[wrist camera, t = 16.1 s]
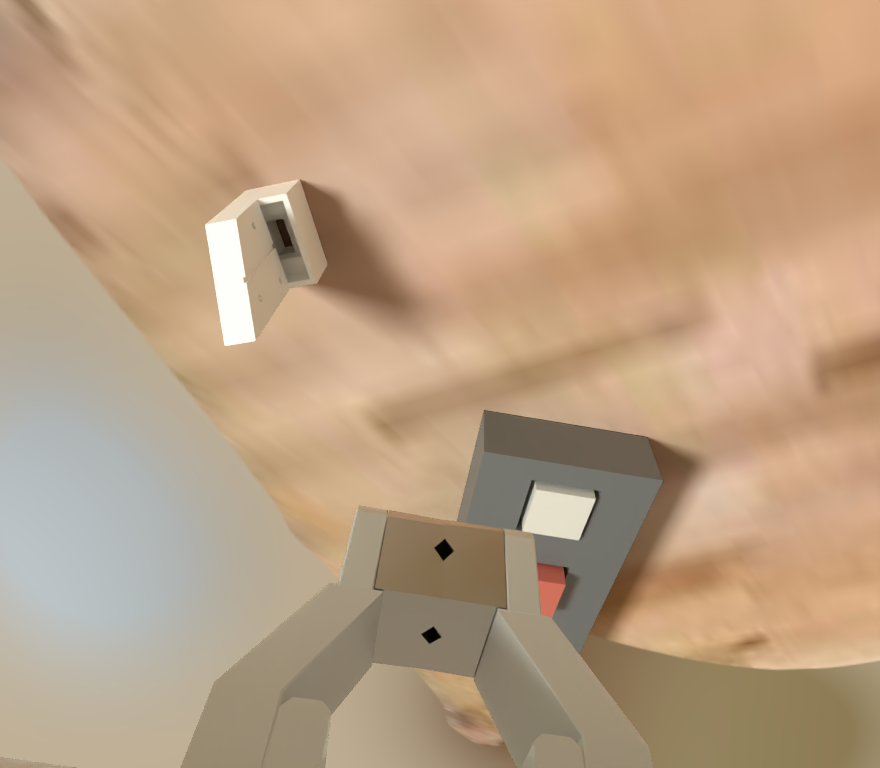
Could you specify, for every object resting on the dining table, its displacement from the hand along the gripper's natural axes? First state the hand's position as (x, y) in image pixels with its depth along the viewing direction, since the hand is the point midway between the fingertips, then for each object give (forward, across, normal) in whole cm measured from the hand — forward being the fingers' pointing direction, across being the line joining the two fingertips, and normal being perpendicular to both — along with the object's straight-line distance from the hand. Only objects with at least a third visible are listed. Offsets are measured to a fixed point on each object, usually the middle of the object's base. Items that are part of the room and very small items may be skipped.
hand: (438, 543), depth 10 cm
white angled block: (+31, +11, +7) cm, 34 cm away
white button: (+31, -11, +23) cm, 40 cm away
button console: (+31, -11, +32) cm, 46 cm away
